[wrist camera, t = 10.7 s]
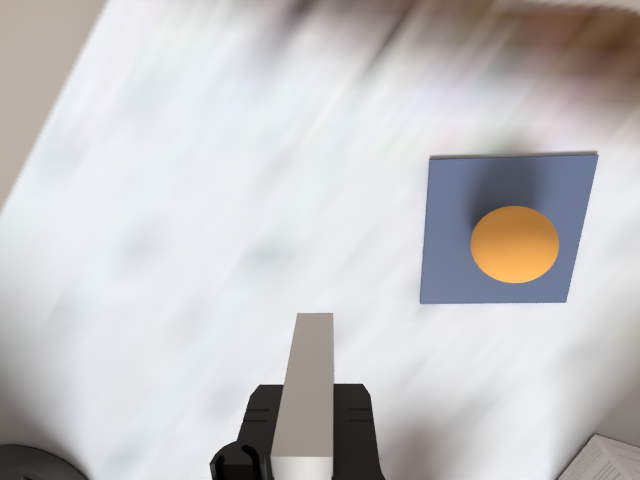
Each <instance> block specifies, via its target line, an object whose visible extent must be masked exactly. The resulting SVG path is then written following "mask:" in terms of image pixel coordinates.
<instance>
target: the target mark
mask: <svg viewBox="0 0 640 480" xmlns="http://www.w3.org/2000/svg"><path fill="white" fill-rule="evenodd" d="M598 156H599V155H573V156H538V157H504V158H469V159H434V160H430V163H429V177H428V192H427V206H426V221H425V236H424V250H423V265H422V279H421V294H420V304H469V303H566V300H567V296H568V291H569V287H570V282H571V278H572V273H573V269H574V264H575V260H576V255H577V251H578V246H579V242H580V237H581V233H582V228H583V224H584V219H585V215H586V210H587V206H588V201H589V197H590V192H591V188H592V183H593V179H594V174H595V170H596V165H597V161H598ZM506 206H522V207H527V208H531V209H533V210H536V211H538V212H540V213H541V214H543V215H544V216H545V217H546V218H547V219H548V220H549V221H550V222H551V223H552V224H553V226H554V228H555V229H556V232H557V234H558V239H559V252H558V255H557V258H556V260H555V262H554V264H553V265H552V266H551V268H550V269H549V270H548V271H547V272H545V273H544V274H543V275H541V276H540V277H538V278H536V279H534V280H531V281H528V282H523V283H507V282H502V281H499V280H496V279H494V278H492V277H490V276H489V275H487V274H486V273H485V272H483V271H482V270H481V269H480V268H479V266H478V265H477V264H476V262H475V260H474V258H473V256H472V252H471V246H470V245H471V236H472V233H473V230H474V228H475V226H476V225H477V224H478V222H479V221H480V220H481V219H482V218H483V217H484V216H485V215H487V214H488V213H490V212H491V211H494V210H496V209H499V208H502V207H506Z"/></svg>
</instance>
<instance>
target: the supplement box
mask: <svg viewBox="0 0 640 480" xmlns="http://www.w3.org/2000/svg"><path fill="white" fill-rule="evenodd" d="M558 480H640V448H639V447H635V446H632V445H629V444H626V443H622V442H619V441H616V440H613V439H609V438H606V437H603V436H599V435H596V434H595V435H594V436H593V437H592V438H591V439H590V441H589V442H588V443H587V444H586V446H585V447H584V448H583V449H582V450H581V452H580V453H579V454H578V455H577V457H576V458H575V459H574V460H573V461H572V463H571V464H570V465H569V466H568V468H567V469H566V470H565V471H564V472H563V474H562V475H561V476H560V477H559V479H558Z"/></svg>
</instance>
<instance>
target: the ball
mask: <svg viewBox="0 0 640 480" xmlns="http://www.w3.org/2000/svg"><path fill="white" fill-rule="evenodd" d="M470 246H471V252H472V256H473V258H474V260H475V262H476V264H477V265H478V266H479V268H480V269H481V270H482V271H483V272H485V273H486V274H487V275H489V276H490V277H492V278H494V279H496V280H499V281H502V282H507V283H523V282H528V281H531V280H534V279H536V278H538V277H540V276H541V275H543V274H544V273H545V272H547V271H548V270H549V269H550V268H551V266H552V265H553V264H554V262H555V260H556V258H557V255H558V252H559V239H558V234H557V232H556V229H555V228H554V226H553V224H552V223H551V222H550V221H549V220H548V219H547V218H546V217H545V216H544V215H543V214H541V213H540V212H538V211H536V210H533V209H531V208H527V207H522V206H506V207H502V208H499V209H496V210H494V211H491V212H490V213H488V214H487V215H485V216H484V217H483V218H482V219H481V220H480V221H479V222H478V224H477V225H476V226H475V228H474V230H473V233H472V236H471V245H470Z"/></svg>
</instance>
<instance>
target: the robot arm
mask: <svg viewBox="0 0 640 480" xmlns="http://www.w3.org/2000/svg"><path fill="white" fill-rule="evenodd" d="M210 470H211V475H212V480H385V478H384V476H383V474H382V472H381V468H380V463H379V456H378V449H377V441H376V434H375V426H374V419H373V411H372V404H371V397H370V394H369V393H368V391H367V390H366V388H365V387H364V385H363V384H334V331H333V313H297V319H296V324H295V329H294V335H293V340H292V345H291V350H290V356H289V361H288V366H287V372H286V377H285V382H284V385H259V386H258V387H257V389H256V390H255V391H254V392H253V393H252V395H251V396H250V399H249V402H248V405H247V409H246V412H245V415H244V418H243V423H242V425H241V428H240V432H239V435H238V438H237V441H235V442H232V443H230V444H228V445H226V446H224V447H223V448H221V449H220V450H219V451H218V452H217V453H216V454H215V455H214V457H213V459H212V461H211V462H210ZM0 480H86V479H85V478H84V477H83V476H82V475H81V474H80V473H79V472H78V471H77V470H76V469H74V468H73V467H72V466H70V465H69V464H67V463H66V462H64V461H63V460H61V459H59V458H57V457H55V456H53V455H51V454H48V453H46V452H43V451H40V450H37V449H33V448H28V447H22V446H0Z"/></svg>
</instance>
